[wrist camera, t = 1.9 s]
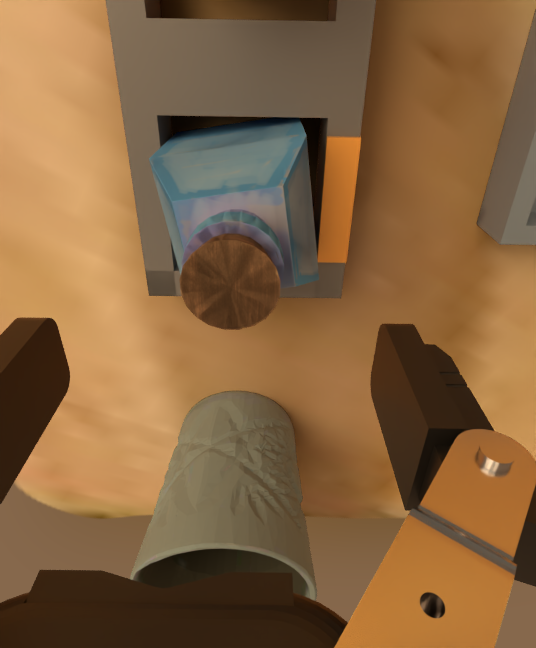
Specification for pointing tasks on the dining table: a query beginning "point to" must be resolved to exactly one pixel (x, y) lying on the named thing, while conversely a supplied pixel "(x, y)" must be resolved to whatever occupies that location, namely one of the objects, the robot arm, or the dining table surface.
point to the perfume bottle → (238, 216)
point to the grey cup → (229, 498)
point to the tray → (515, 163)
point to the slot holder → (245, 108)
